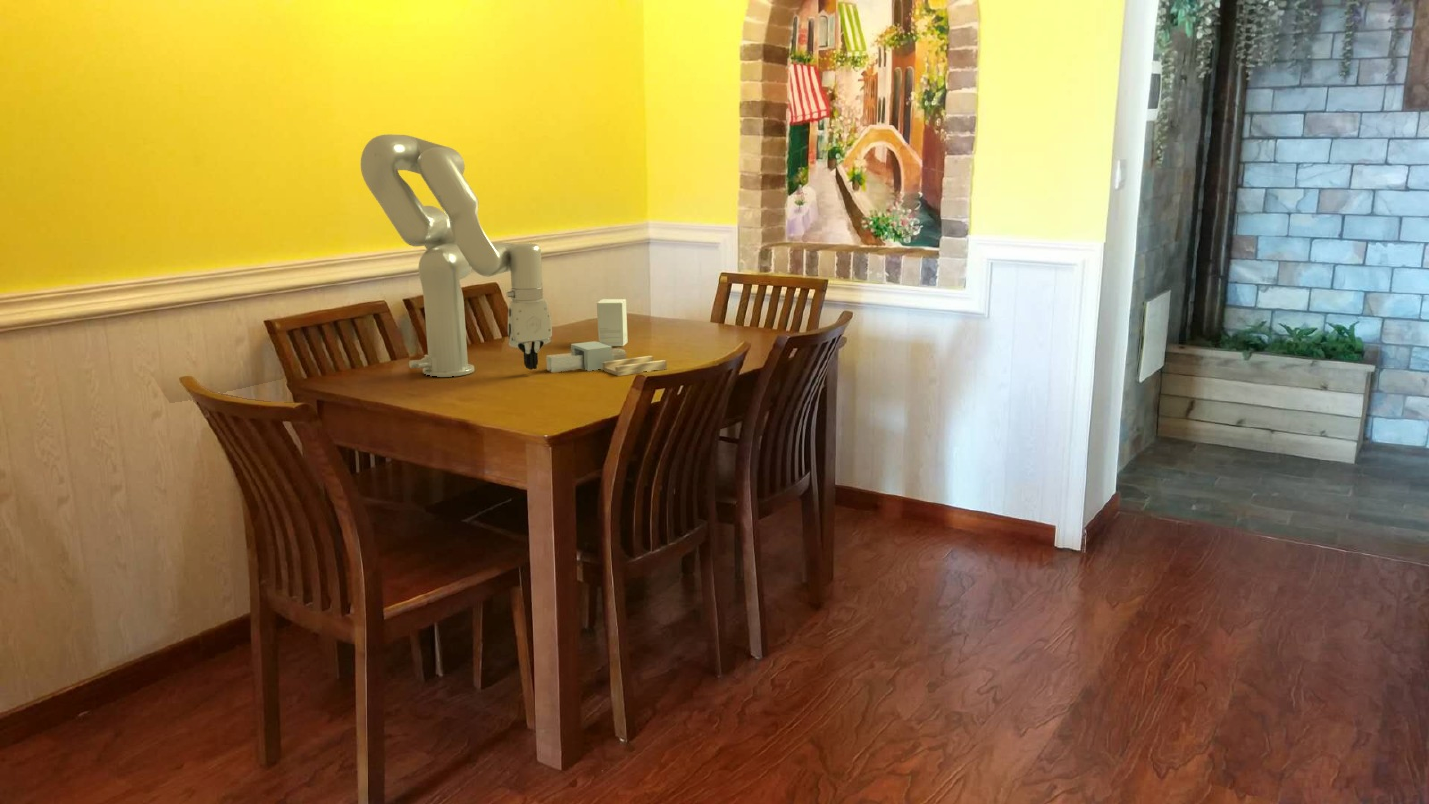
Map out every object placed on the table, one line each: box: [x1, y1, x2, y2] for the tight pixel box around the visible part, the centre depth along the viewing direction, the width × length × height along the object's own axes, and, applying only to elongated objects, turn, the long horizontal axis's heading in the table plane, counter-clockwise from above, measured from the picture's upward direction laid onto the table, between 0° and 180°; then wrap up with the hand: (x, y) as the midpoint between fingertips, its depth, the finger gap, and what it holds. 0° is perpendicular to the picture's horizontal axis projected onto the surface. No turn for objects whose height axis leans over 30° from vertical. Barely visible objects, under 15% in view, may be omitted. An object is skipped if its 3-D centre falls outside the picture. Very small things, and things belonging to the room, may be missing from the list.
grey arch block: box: [570, 341, 613, 372], centre depth 267 cm, size 7×9×6 cm
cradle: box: [602, 355, 668, 377], centre depth 263 cm, size 14×8×2 cm, turn 124°
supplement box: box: [596, 298, 629, 347], centre depth 295 cm, size 7×7×13 cm
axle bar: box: [546, 347, 627, 373], centre depth 266 cm, size 20×4×4 cm, turn 116°
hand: (531, 368), depth 258 cm, fingers closed
